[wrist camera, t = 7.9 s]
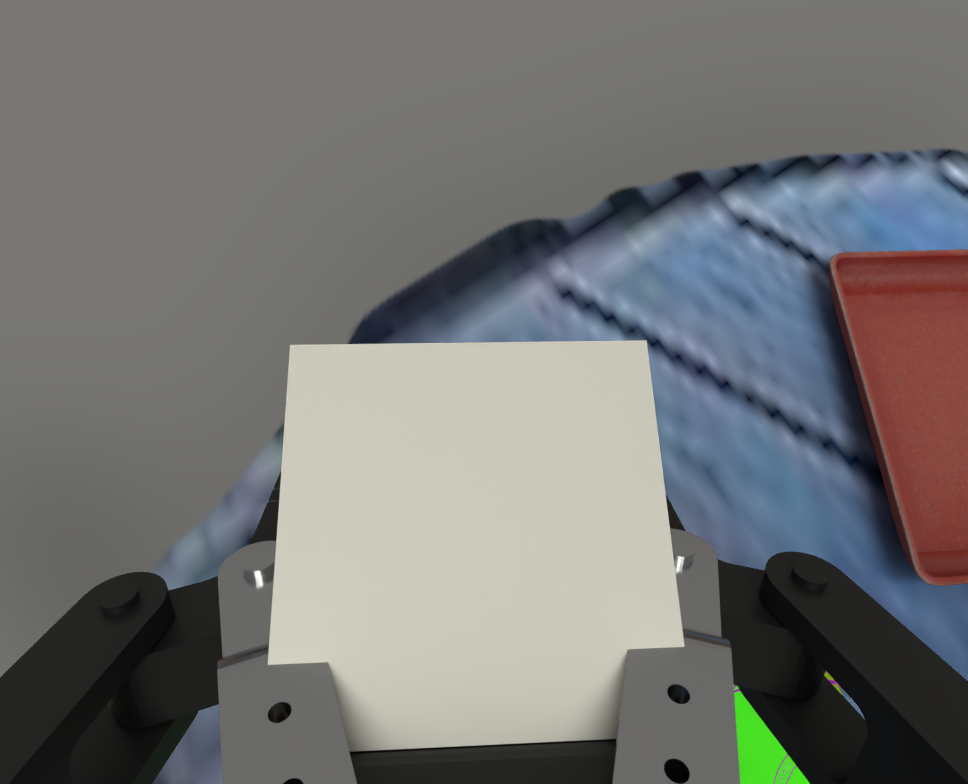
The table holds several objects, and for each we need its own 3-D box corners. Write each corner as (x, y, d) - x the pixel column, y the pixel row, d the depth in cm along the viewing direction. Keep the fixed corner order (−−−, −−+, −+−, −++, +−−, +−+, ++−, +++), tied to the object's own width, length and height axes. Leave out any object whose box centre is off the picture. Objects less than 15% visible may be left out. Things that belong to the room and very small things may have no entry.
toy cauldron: (512, 891, 26) (557, 1086, 16) (565, 542, 31) (627, 514, 21) (853, 964, 26) (1122, 1208, 16) (853, 603, 31) (1060, 607, 21)
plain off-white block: (545, 466, 18) (645, 330, 9) (557, 652, 17) (695, 735, 7) (377, 470, 18) (290, 335, 8) (373, 660, 16) (261, 756, 7)
